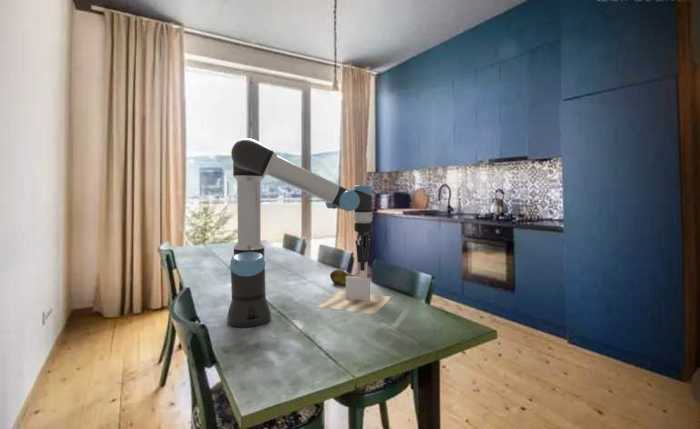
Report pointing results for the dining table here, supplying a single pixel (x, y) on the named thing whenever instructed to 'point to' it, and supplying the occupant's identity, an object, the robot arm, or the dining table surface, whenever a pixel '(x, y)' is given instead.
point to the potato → (339, 277)
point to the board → (355, 303)
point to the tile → (358, 288)
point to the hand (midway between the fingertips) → (363, 277)
